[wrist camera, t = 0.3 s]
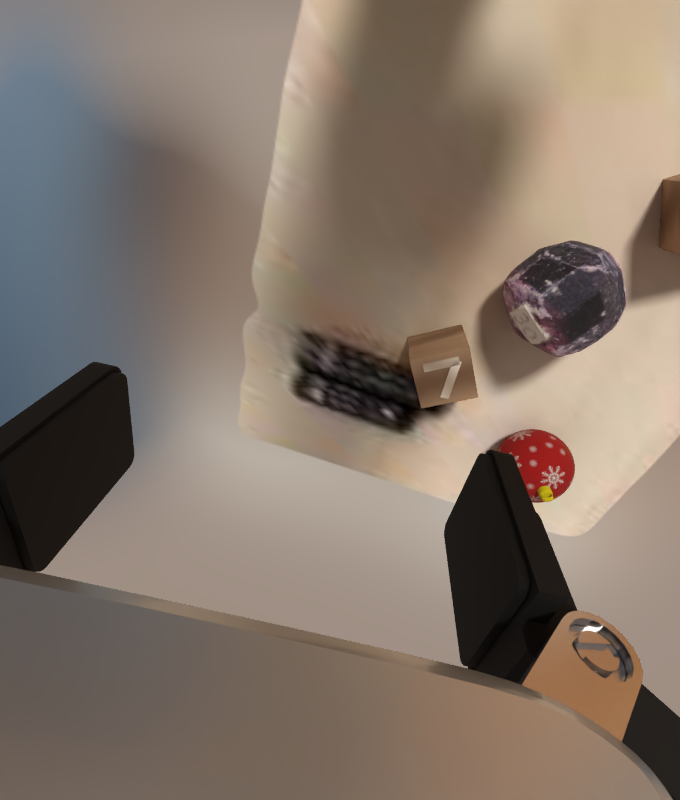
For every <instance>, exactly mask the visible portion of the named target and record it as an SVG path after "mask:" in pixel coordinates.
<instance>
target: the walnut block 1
mask: <svg viewBox="0 0 680 800" xmlns="http://www.w3.org/2000/svg"><path fill="white" fill-rule="evenodd" d="M659 247H660V248H663V249H665V250H668V251H670V252H673V253H675V254H678V255H680V174H679V175H676V176H673V177H669V178H666V179H663V188H662V204H661V220H660V236H659Z"/></svg>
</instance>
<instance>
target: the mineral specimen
mask: <svg viewBox="0 0 680 800" xmlns="http://www.w3.org/2000/svg"><path fill="white" fill-rule="evenodd" d="M503 297H504V302H505V306H506V309H507V312H508V316H509V319H510V322H511V324H512V327H513V329H514V331H515V332H516V333H517V334H518V335H519V336H520V337H521V338H523V339H524V340H526V341H528V342H529V343H531V344H533V345H534V346H536V347H538V348H540V349H541V350H543V351H545V352H547V353H549V354H551V355H554V356H556V357H560V356H564V355H567V354H573V353H576V352H579V351H581V350H583V349H585V348H587V347H588V346H590V345H592V344H593V343H595V342H596V341H598V340H599V339H601V338H602V337H603V336H604V335H606V334H607V333H608V332H609V331H611V330H612V329H613V328H614V327H615V325H616V324H617V322H618V321H619V319H620V318H621V316H622V314H623V312H624V310H625V306H626V287H625V286H624V283H623V276H622V270H621V268H620V267H619V264H618V263H617V261H616V260H615V259H614V258H613V256H612V255H611V254H610V253H609V252H607V251H605V250H603V249H600V248H598V247H594V246H591V245H588V244H584V243H581V242H577V241H567V242H564V243H560V244H556V245H552V246H548V247H545V248H542V249H539V250H538V251H536V252H535V253H534V254H532V255H531V256H530V257H529V258H528V259H526V260H525V261H524V262H522V263H521V264H520V265H518V266H517V267H516V268H515V269H514V270H513V271H512V272H511V273H510V274H509V276H508V277H507V279H506V280H505V282H504V290H503Z"/></svg>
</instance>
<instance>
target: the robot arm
mask: <svg viewBox="0 0 680 800" xmlns="http://www.w3.org/2000/svg"><path fill="white" fill-rule="evenodd" d="M133 458H134V446H133V435H132V426H131V415H130V406H129V395H128V385H127V378H126V376H125V375H124V374H122V373H121V370H120V369H119V368H118V367H116V366H112V365H107V364H103V363H98V362H93V363H91V364H89V365H88V366H86V367H85V368H83V369H82V370H81V371H79V372H78V373H76V374H75V375H73V376H72V377H71V378H69V379H68V380H66V381H65V382H63V383H62V384H61V385H59V386H58V387H56V388H55V389H54V390H53V391H51V392H49V393H48V394H46V395H45V396H44V397H42V398H41V399H39V400H38V401H37V402H35V403H34V404H32V405H31V406H30V407H28V408H27V409H25V410H24V411H22V412H21V413H20V414H18V415H17V416H15V417H14V418H12V419H11V420H10V421H8V422H7V423H5V424H4V425H2V426H1V427H0V800H680V717H678V716H677V715H676V714H675V713H674V712H673V711H672V710H671V709H669V708H668V707H667V706H666V705H665V704H664V703H663V702H662V701H660V700H659V699H658V698H657V697H656V696H655V695H654V694H653V693H651V692H650V691H649V690H648V689H647V688H646V687H644V685H642V677H643V670H642V666H641V663H640V659H639V658H638V656H637V654H636V652H635V651H634V649H633V647H632V646H631V644H630V643H629V642H628V641H627V639H626V638H625V637H624V636H623V635H622V634H621V633H620V632H619V631H618V630H617V629H616V628H615V627H614V626H613V625H611V624H610V623H608V622H607V621H605V620H604V619H602V618H600V617H599V616H596V615H594V614H591V613H589V612H584V611H577V609H576V606H575V604H574V601H573V598H572V596H571V593H570V591H569V589H568V586H567V583H566V581H565V578H564V576H563V573H562V571H561V568H560V566H559V563H558V561H557V558H556V556H555V553H554V551H553V548H552V546H551V544H550V541H549V538H548V535H547V533H546V530H545V528H544V525H543V523H542V520H541V518H540V516H539V515H538V513H536V512H535V509H534V507H533V504H532V502H531V499H530V496H529V494H528V491H527V489H526V486H525V484H524V481H523V479H522V476H521V473H520V471H519V468H518V466H517V463H516V461H515V458H514V456H513V455H511V454H508V453H503V452H499V451H494V450H488V451H487V452H486V454H482V453H481V454H479V456H478V457H477V459H476V461H475V463H474V466H473V468H472V470H471V472H470V474H469V476H468V478H467V480H466V482H465V484H464V487H463V489H462V491H461V493H460V495H459V497H458V499H457V501H456V503H455V505H454V507H453V510H452V512H451V514H450V516H449V518H448V520H447V522H446V525H445V530H444V538H445V544H446V553H447V561H448V568H449V576H450V583H451V592H452V599H453V607H454V615H455V622H456V630H457V637H458V646H459V653H460V659H461V662H462V664H463V665H464V666H468V669H467V668H462V667H458V666H454V665H450V664H446V663H442V662H438V661H434V660H430V659H426V658H422V657H417V656H413V655H409V654H405V653H401V652H397V651H392V650H388V649H383V648H379V647H374V646H370V645H365V644H361V643H357V642H352V641H347V640H343V639H339V638H334V637H330V636H326V635H321V634H317V633H312V632H308V631H304V630H299V629H295V628H290V627H285V626H281V625H276V624H272V623H267V622H263V621H259V620H254V619H250V618H245V617H240V616H236V615H231V614H227V613H222V612H217V611H213V610H208V609H204V608H199V607H195V606H190V605H186V604H181V603H177V602H172V601H168V600H163V599H158V598H153V597H149V596H145V595H139V594H135V593H130V592H126V591H121V590H117V589H112V588H107V587H103V586H98V585H93V584H89V583H84V582H79V581H75V580H70V579H65V578H61V577H56V576H51V575H46V574H42V573H37V572H36V571H38V572H39V571H42V570H43V569H45V568H46V567H47V566H48V564H49V563H50V562H51V561H52V560H53V558H54V557H55V556H56V555H57V553H58V552H59V551H60V550H61V549H62V547H63V546H64V545H65V544H66V543H67V541H68V540H69V539H70V538H71V537H72V535H73V534H74V533H75V532H76V531H77V530H78V528H79V527H80V526H81V525H82V523H83V522H84V521H85V520H86V519H87V518H88V516H89V515H90V514H91V513H92V512H93V510H94V509H95V508H96V507H97V506H98V504H99V503H100V502H101V501H102V499H103V498H104V497H105V496H106V495H107V494H108V492H109V491H110V490H111V489H112V487H113V486H114V485H115V484H116V483H117V482H118V480H119V479H120V478H121V477H122V475H123V474H124V473H125V472H126V471H127V470H128V468H129V467H130V466H131V464H132V462H133Z"/></svg>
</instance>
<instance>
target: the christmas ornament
mask: <svg viewBox="0 0 680 800" xmlns="http://www.w3.org/2000/svg"><path fill="white" fill-rule="evenodd" d="M498 451H499V452H503V453H508V454H511V455H513V456H514V458H515V461H516V463H517V466H518V468H519V471H520V473H521V476H522V479H523V481H524V484H525V486H526V489H527V491H528V494H529V496H530V499H531V502H536V503H538V502H549V501H552V500H553V499H555V498H557V497H559V496H560V495H562V494H563V493H564V492H565V491H566V490H567V489H568V488H569V486H570V484H571V482H572V480H573V477H574V472H575V465H574V460H573V456H572V454H571V452H570V450H569V449H568V447H567V446H566V445H565V443H564V442H563V441H561V440H560V439H559V438H558V437H556V436H555V435H553V434H551V433H548V432H546V431H542V430H535V429H530V430H523V431H519V432H516V433H514V434H512V435H511V436H509V437H508V438H507V439H505V440H504V441H503V443H502V444H501V445H500V447H499V449H498Z"/></svg>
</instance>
